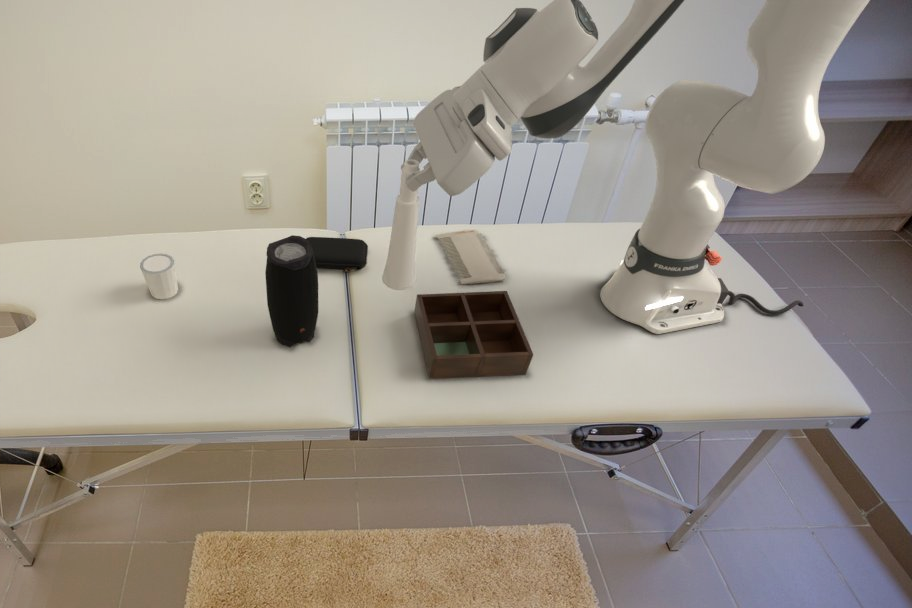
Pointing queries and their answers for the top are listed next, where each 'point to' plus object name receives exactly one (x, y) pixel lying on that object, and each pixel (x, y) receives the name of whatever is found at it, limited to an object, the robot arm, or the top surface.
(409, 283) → the cosmetic bottle
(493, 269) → the grooming comb
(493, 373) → the organiser
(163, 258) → the shot glass
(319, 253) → the carrying case
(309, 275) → the portable speaker
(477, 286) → the top surface
